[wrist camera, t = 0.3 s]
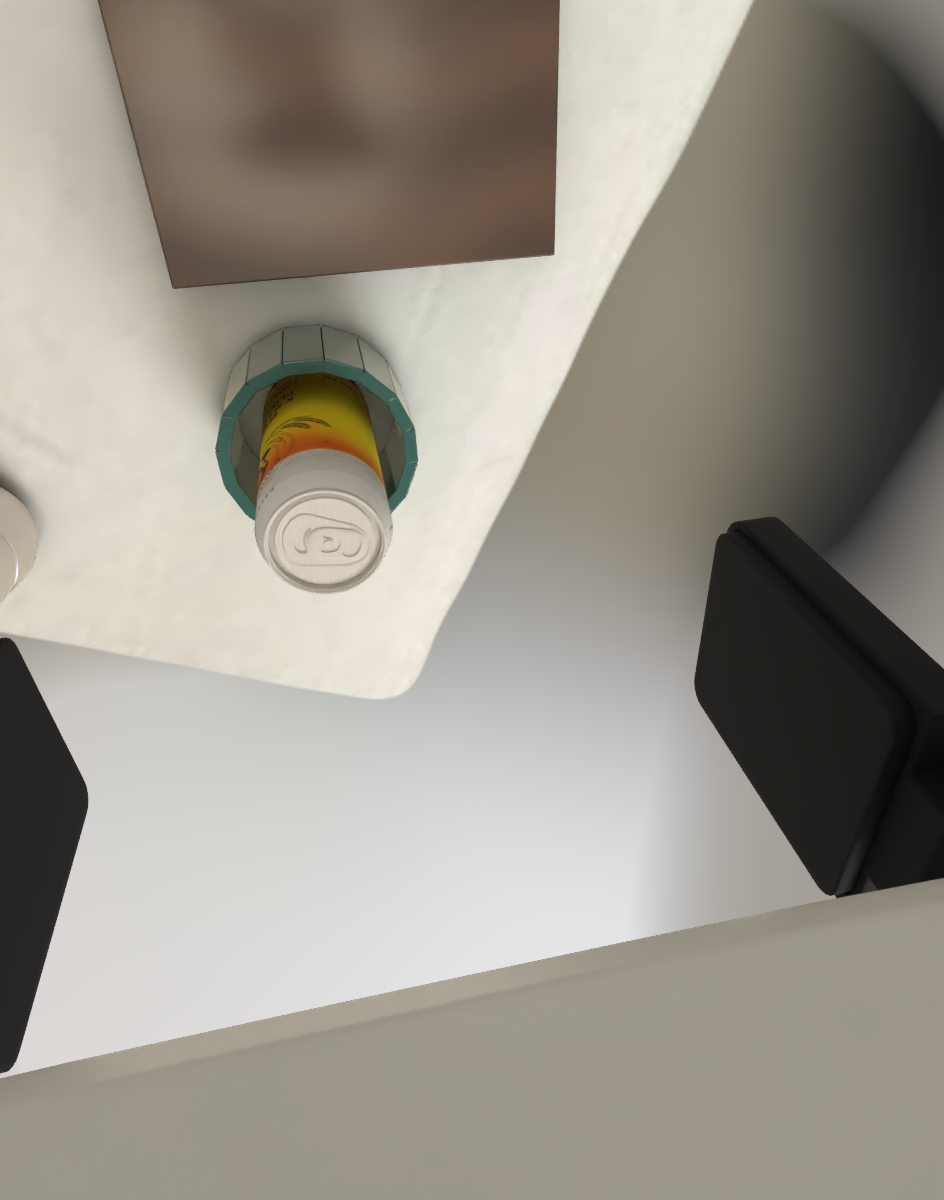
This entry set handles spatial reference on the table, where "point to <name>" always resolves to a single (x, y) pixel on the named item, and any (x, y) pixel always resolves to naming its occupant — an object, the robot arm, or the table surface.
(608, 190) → the table surface
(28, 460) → the table surface
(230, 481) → the crock
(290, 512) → the beer can
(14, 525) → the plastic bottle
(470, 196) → the board
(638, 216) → the table surface
